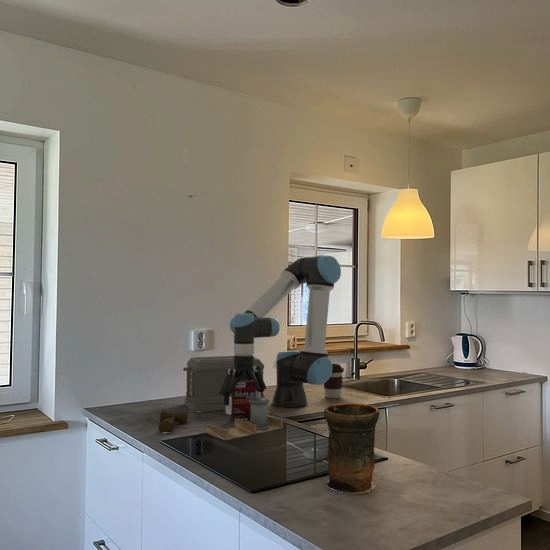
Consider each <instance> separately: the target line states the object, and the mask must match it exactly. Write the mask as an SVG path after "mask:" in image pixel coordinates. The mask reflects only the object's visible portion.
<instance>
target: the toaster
mask: <svg viewBox="0 0 550 550" xmlns="http://www.w3.org/2000/svg"><path fill="white" fill-rule="evenodd" d="M186 366H187V367H186ZM186 366H184V367H183V368H182V370H183V372H185V371H186V391H185V392H186V393H185V398H184V405H186V406H187V407H188V408H189V409H190V410H191V411H213V412H216V411H215V410H226V405H224V396H223V395H220V394H219V393H220V390H221V387H222V385H223V382H224V380H225V377H226V375H227V369H234V367H235V366H234V355H226V356H224V355H223V356H221V355H220V356H219V355H218V356H196V357H194V356H192V357H190V359H189V360H188V361H187V362H186ZM254 366H259V367H260V373H261V375H262V378H263V379H264V369H265V364H264V363H262V361H261V359H259V358H257V357H255V356H254V364H253V367H254ZM252 374H253V376H254V377H255V374H254V372H252ZM234 375H235V374H234ZM234 375H233V376H234ZM232 378H233V377H232ZM255 379H256V377H255ZM244 380H249V379H244ZM231 381H232V380H231ZM256 381H257V379H256ZM230 383H231V382H230ZM256 391H257V390H256ZM230 396H231V395H230ZM262 398H265V394H264V392H262ZM186 406H185V407H186ZM187 407H186V408H187ZM188 408H187V409H188ZM189 409H188V410H189ZM190 410H189V411H190ZM191 411H190V412H191Z"/></svg>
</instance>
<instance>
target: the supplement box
mask: <svg viewBox="0 0 550 550" xmlns="http://www.w3.org/2000/svg"><path fill="white" fill-rule="evenodd" d="M231 397H232V414H231V415H230V420H231V422H232V423H235V419H240V420H243V421H246V422H250V419H251V403H250V402H249V399H250V398H256V381H255V380H250V379H249V380H240V381H239V382H238V383H237V385H236V387H235V388H234V390H233V391H232V393H231Z"/></svg>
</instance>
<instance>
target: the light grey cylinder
mask: <svg viewBox="0 0 550 550" xmlns="http://www.w3.org/2000/svg"><path fill="white" fill-rule="evenodd" d="M249 402H250V403H251V419H250V421H249V422H250V423H253V424H256V430H266V429H269V425H268V424H267V415H268V404H269V403H270V399H269V398H268V397H264V398H262V397H256V398H250V399H249Z"/></svg>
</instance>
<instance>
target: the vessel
mask: <svg viewBox="0 0 550 550" xmlns="http://www.w3.org/2000/svg"><path fill="white" fill-rule="evenodd" d="M323 412H324V413H323V417H324V419H325V422H326V424H327V427H328V431H329V432H328V436H327V437H328V438H327V439H328V441H327V442H328V443H327V444H328V445H327V446H328V447H327V458H328V480H327V481H326V483H325V486H326V485H328V487H330V488H333V489H335V490H337V491H338V492H343V493H345V494H344V495H354V496H355V495H365V494H368V493H371V491H373V490H374V489H375V487H376V486H377V485H376V484H374V482H373V474H374V470H375V466H376V465H375V442H376V441H375V440H376V426H377V423H378V422H379V419H380V410H379V408H377V407H375V406H373V405H371V404H370V405H369V404H368V405H367V404H364V403H351V402H350V403H340V402H339V403H334V404H333V403H331V404H330V405H328V406H326V407H325V409H324V410H323ZM338 492H337V493H338Z"/></svg>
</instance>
